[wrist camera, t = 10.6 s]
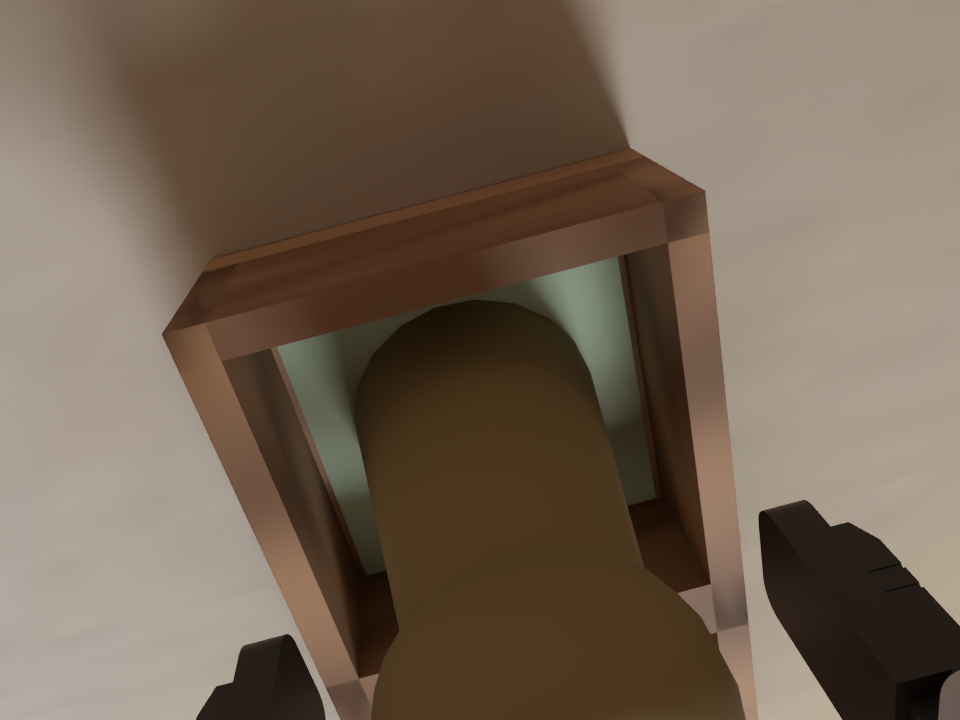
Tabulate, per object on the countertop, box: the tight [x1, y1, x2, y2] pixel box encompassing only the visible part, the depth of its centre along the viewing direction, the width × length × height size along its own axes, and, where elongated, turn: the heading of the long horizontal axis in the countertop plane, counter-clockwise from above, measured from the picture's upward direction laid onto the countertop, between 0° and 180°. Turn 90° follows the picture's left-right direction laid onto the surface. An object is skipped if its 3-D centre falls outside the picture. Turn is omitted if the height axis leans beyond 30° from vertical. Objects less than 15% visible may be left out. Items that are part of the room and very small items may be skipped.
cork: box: [354, 299, 746, 720], centre depth 14 cm, size 6×6×11 cm
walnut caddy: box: [162, 149, 758, 720], centre depth 20 cm, size 20×10×4 cm, turn 13°
